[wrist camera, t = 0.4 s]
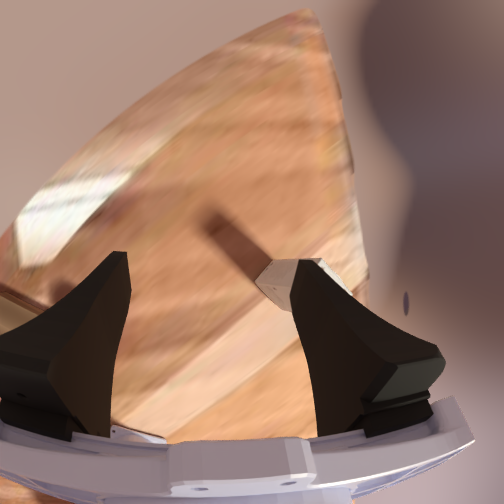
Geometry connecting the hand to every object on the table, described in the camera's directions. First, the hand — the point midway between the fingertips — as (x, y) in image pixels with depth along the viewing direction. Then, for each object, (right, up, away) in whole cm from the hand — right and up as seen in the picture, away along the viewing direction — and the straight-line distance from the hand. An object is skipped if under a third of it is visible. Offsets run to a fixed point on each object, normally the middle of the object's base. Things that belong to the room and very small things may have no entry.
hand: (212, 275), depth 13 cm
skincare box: (+5, -4, +30) cm, 30 cm away
